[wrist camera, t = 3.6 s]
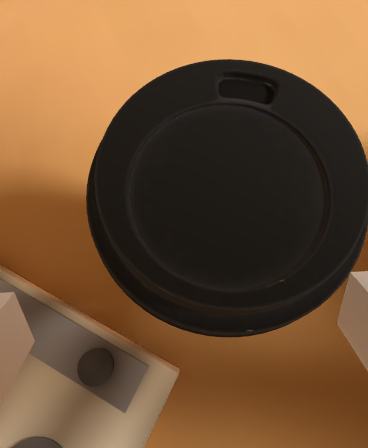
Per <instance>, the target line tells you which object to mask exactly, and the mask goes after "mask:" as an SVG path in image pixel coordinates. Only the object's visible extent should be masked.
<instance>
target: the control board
mask: <svg viewBox="0 0 368 448" xmlns="http://www.w3.org/2000/svg"><path fill="white" fill-rule="evenodd" d="M6 292H14V293H15V295H16V297H17V300H18V302H19V304H20V307H21V309H22V312H23V314H24V316H25V319H26V321H27V323H28V326H29V328H30V330H31V333H32V335H33V337H34V340H35V342H34V344H33V346H32V348H31V350H30V352H29V353H28V355H27V357H26V359H25V361H24V363H23V365H22V367H21V369H20V371H19V373H18V374H17V376H16V378H15V380H14V382H13V384H12V386H11V388H10V390H9V392H8V393H7V395H6V397H5V399H4V401H3V403H2V405H1V407H0V448H144V447H145V444H146V442H147V440H148V438H149V436H150V434H151V432H152V430H153V428H154V426H155V423H156V421H157V419H158V417H159V415H160V413H161V411H162V409H163V407H164V405H165V402H166V400H167V398H168V396H169V394H170V392H171V390H172V388H173V386H174V384H175V381H176V379H177V377H178V375H179V372H180V369H179V368H177V367H175V366H174V365H172V364H170V363H169V362H167V361H165V360H163V359H162V358H160V357H158V356H156V355H155V354H153V353H151V352H150V351H148V350H146V349H144V348H143V347H141V346H139V345H138V344H136V343H134V342H132V341H131V340H129V339H127V338H125V337H124V336H122V335H120V334H119V333H117V332H115V331H113V330H112V329H110V328H108V327H107V326H105V325H103V324H101V323H100V322H98V321H96V320H94V319H93V318H91V317H89V316H88V315H86V314H84V313H82V312H81V311H79V310H77V309H76V308H74V307H72V306H70V305H69V304H67V303H65V302H64V301H62V300H60V299H58V298H57V297H55V296H53V295H51V294H50V293H48V292H46V291H45V290H43V289H41V288H39V287H38V286H36V285H34V284H33V283H31V282H29V281H27V280H26V279H24V278H22V277H20V276H19V275H17V274H15V273H14V272H12V271H10V270H8V269H7V268H5V267H3V266H2V265H0V293H6Z"/></svg>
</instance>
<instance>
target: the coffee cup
mask: <svg viewBox="0 0 368 448" xmlns="http://www.w3.org/2000/svg"><path fill="white" fill-rule="evenodd" d="M86 203H87V215H88V222H89V226H90V231H91V235H92V237H93V240H94V243H95V246H96V248H97V250H98V253H99V255H100V257H101V259H102V261H103V263H104V265H105V267H106V268H107V270H108V272H109V273H110V275H111V276H112V278H113V279H114V281H115V282H116V283H117V285H118V286H119V287H120V288H121V289H122V290H123V291H124V293H125V294H126V295H127V296H128V297H130V298H131V299H132V300H133V301H134V302H135V303H136V304H137V305H139V306H140V307H141V308H142V309H144V310H145V311H146V312H148V313H150V314H151V315H153V316H154V317H156V318H158V319H160V320H161V321H163V322H165V323H167V324H169V325H172V326H174V327H177V328H179V329H182V330H185V331H189V332H192V333H196V334H201V335H207V336H215V337H244V336H252V335H257V334H262V333H266V332H269V331H273V330H276V329H278V328H281V327H283V326H286V325H288V324H290V323H292V322H294V321H296V320H298V319H300V318H301V317H303V316H305V315H307V314H308V313H310V312H311V311H313V310H314V309H316V308H317V307H319V306H320V305H321V304H322V303H324V302H325V301H326V300H327V299H328V298H330V296H331V295H332V294H333V293H334V292H335V291H336V290H337V289H338V288H339V287H340V286H341V284H342V283H343V282H344V281H345V279H346V278H347V277H348V275H349V273H350V272H351V270H352V269H353V267H354V265H355V263H356V261H357V259H358V257H359V254H360V252H361V249H362V246H363V244H364V240H365V236H366V232H367V225H368V163H367V159H366V156H365V153H364V150H363V147H362V144H361V142H360V140H359V138H358V136H357V134H356V132H355V130H354V129H353V127H352V125H351V124H350V122H349V121H348V119H347V118H346V117H345V115H344V114H343V113H342V112H341V110H340V109H339V108H338V107H337V106H336V105H335V104H334V103H333V102H332V101H331V100H330V99H329V98H328V97H327V96H326V95H325V94H323V93H322V92H321V91H320V90H318V89H317V88H316V87H314V86H313V85H311V84H310V83H308V82H306V81H305V80H303V79H301V78H299V77H298V76H296V75H294V74H292V73H289V72H287V71H285V70H282V69H279V68H276V67H274V66H270V65H266V64H263V63H258V62H253V61H245V60H231V59H227V60H210V61H203V62H197V63H193V64H189V65H186V66H183V67H179V68H177V69H174V70H172V71H169V72H167V73H165V74H163V75H161V76H159V77H157V78H156V79H154V80H152V81H151V82H149V83H148V84H146V85H145V86H143V87H142V88H141V89H139V90H138V91H137V92H136V93H135V94H134V95H132V96H131V97H130V98H129V99H128V100H127V101H126V102H125V104H124V105H123V106H122V107H121V108H120V110H119V111H118V112H117V114H116V115H115V117H114V118H113V119H112V121H111V123H110V125H109V126H108V128H107V130H106V133H105V135H104V137H103V139H102V141H101V143H100V145H99V147H98V149H97V151H96V153H95V156H94V159H93V162H92V164H91V168H90V172H89V177H88V183H87V195H86Z"/></svg>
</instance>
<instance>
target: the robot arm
mask: <svg viewBox="0 0 368 448" xmlns="http://www.w3.org/2000/svg"><path fill="white" fill-rule="evenodd" d="M337 325H338V327H339V328H340V330H341V331H342V333H343V334H344V336H345V337H346V339H347V340H348V342H349V344H350V345H351V347H352V348H353V350H354V351H355V353H356V354H357V356H358V358H359V359H360V361H361V362H362V364H363V365H364V367H365V368H366V370H367V371H368V271H361V272H350V275H349V278H348V282H347V286H346V289H345V293H344V297H343V300H342V304H341V308H340V311H339V315H338V319H337ZM34 342H35V340H34V337H33V335H32V333H31V330H30V328H29V326H28V323H27V321H26V319H25V316H24V314H23V312H22V309H21V307H20V304H19V302H18V300H17V297H16V295H15V293H14V292H6V293H0V407H1V405H2V403H3V401H4V399H5V397H6V395H7V393H8V392H9V390H10V388H11V386H12V384H13V382H14V380H15V378H16V376H17V374H18V373H19V371H20V369H21V367H22V365H23V363H24V361H25V359H26V357H27V355H28V353H29V352H30V350H31V348H32V346H33V344H34Z"/></svg>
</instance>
